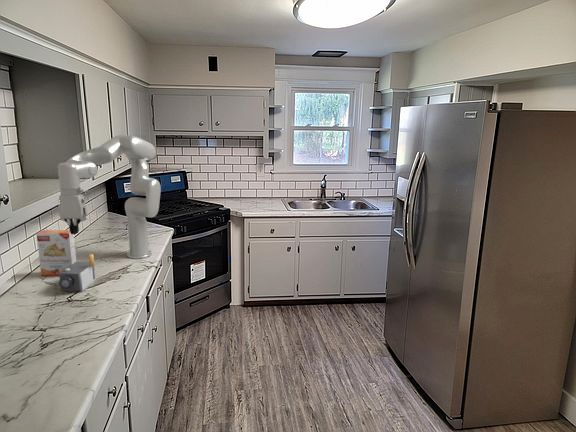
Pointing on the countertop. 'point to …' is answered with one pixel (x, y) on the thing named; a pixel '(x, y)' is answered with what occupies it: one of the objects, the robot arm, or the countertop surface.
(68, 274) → the block
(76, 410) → the countertop surface
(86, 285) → the grey blade tan handle
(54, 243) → the cracker box
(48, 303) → the countertop surface
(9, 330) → the countertop surface
